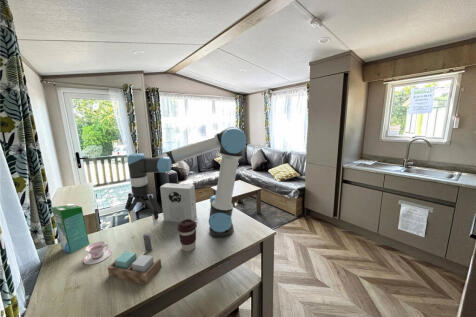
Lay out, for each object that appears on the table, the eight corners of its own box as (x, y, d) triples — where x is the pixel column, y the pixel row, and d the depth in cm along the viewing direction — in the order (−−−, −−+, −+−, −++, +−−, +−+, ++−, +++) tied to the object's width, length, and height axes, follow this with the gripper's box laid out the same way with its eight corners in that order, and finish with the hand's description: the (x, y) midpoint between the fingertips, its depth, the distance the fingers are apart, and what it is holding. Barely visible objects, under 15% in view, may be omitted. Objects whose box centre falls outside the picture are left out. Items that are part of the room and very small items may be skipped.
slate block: (154, 269, 88) (152, 256, 87) (145, 280, 82) (143, 266, 81) (143, 267, 90) (141, 254, 88) (134, 277, 84) (131, 263, 83)
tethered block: (155, 248, 102) (153, 233, 101) (127, 275, 85) (124, 258, 83) (146, 247, 104) (144, 232, 102) (116, 273, 86) (113, 256, 85)
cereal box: (197, 218, 134) (194, 184, 129) (192, 223, 126) (189, 188, 121) (169, 215, 139) (166, 183, 134) (163, 220, 131) (159, 186, 126)
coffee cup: (201, 243, 106) (199, 219, 103) (191, 255, 97) (189, 228, 94) (186, 240, 109) (184, 216, 106) (175, 251, 100) (172, 225, 97)
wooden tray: (161, 267, 89) (160, 258, 89) (146, 284, 80) (145, 275, 79) (127, 260, 95) (125, 252, 94) (109, 275, 85) (107, 267, 84)
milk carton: (89, 243, 108) (81, 203, 103) (70, 253, 100) (60, 210, 95) (80, 239, 112) (72, 200, 107) (61, 249, 104) (51, 207, 99)
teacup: (80, 268, 90) (78, 257, 89) (86, 253, 101) (84, 243, 99) (110, 259, 95) (108, 248, 94) (113, 246, 106) (111, 236, 105)
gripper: (166, 183, 95) (169, 222, 99) (125, 180, 101) (130, 216, 105) (155, 189, 88) (160, 230, 92) (113, 185, 94) (119, 223, 98)
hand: (144, 223), depth 99 cm, fingers open, 13 cm apart
